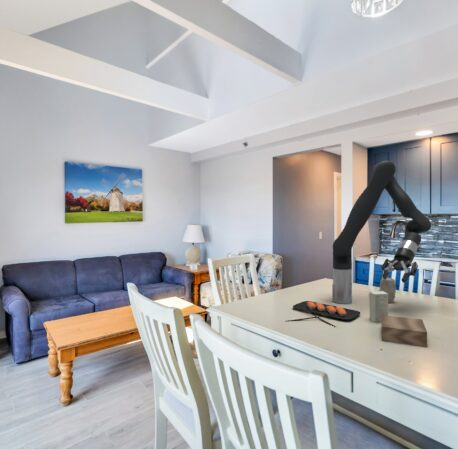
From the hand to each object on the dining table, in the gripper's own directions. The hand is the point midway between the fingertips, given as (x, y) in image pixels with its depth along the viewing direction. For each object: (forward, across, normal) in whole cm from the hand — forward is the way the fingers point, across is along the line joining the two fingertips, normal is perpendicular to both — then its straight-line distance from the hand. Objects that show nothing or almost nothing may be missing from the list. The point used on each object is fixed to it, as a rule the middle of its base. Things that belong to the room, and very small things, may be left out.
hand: (393, 280), depth 140 cm
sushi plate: (+31, -20, -8) cm, 38 cm away
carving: (-1, -13, +24) cm, 27 cm away
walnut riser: (+26, +14, -4) cm, 30 cm away
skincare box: (+20, 0, +3) cm, 20 cm away
